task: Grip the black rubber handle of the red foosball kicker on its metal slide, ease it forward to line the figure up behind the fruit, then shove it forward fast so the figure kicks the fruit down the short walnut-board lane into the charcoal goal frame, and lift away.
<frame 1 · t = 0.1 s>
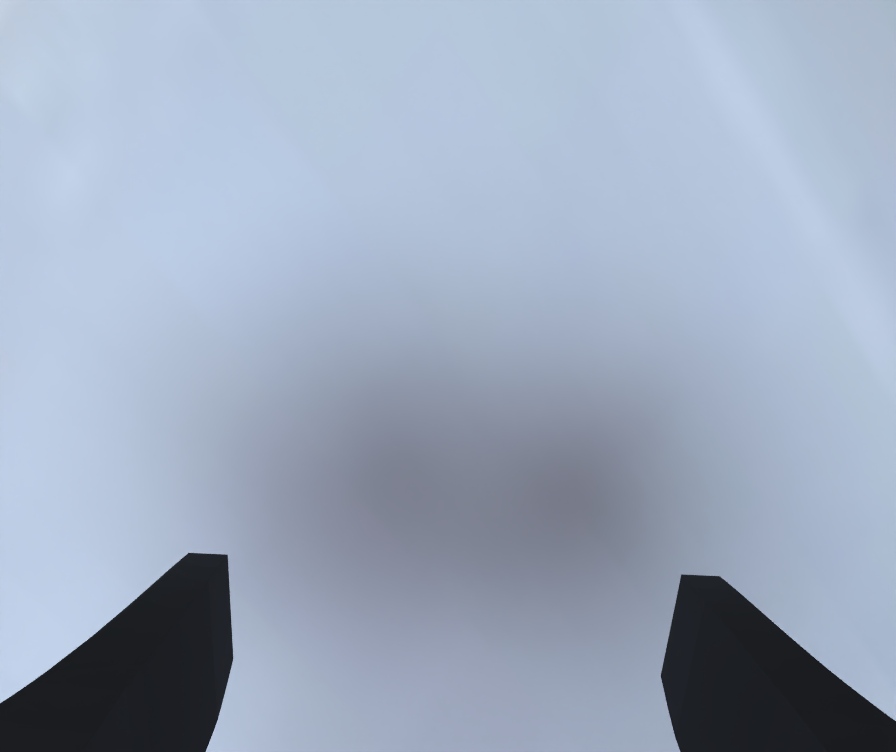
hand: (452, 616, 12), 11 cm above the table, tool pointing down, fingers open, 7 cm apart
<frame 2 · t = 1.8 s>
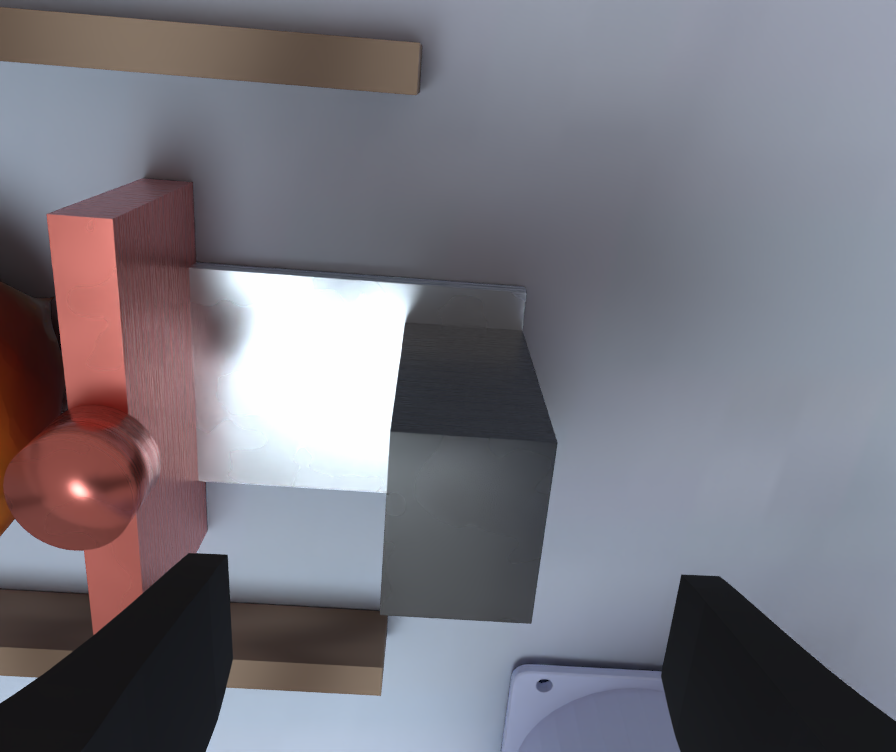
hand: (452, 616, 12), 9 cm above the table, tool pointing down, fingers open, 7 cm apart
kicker: (302, 437, 18), point 4 cm above the table, slide at 0.0 cm
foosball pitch: (64, 362, 21), on the table
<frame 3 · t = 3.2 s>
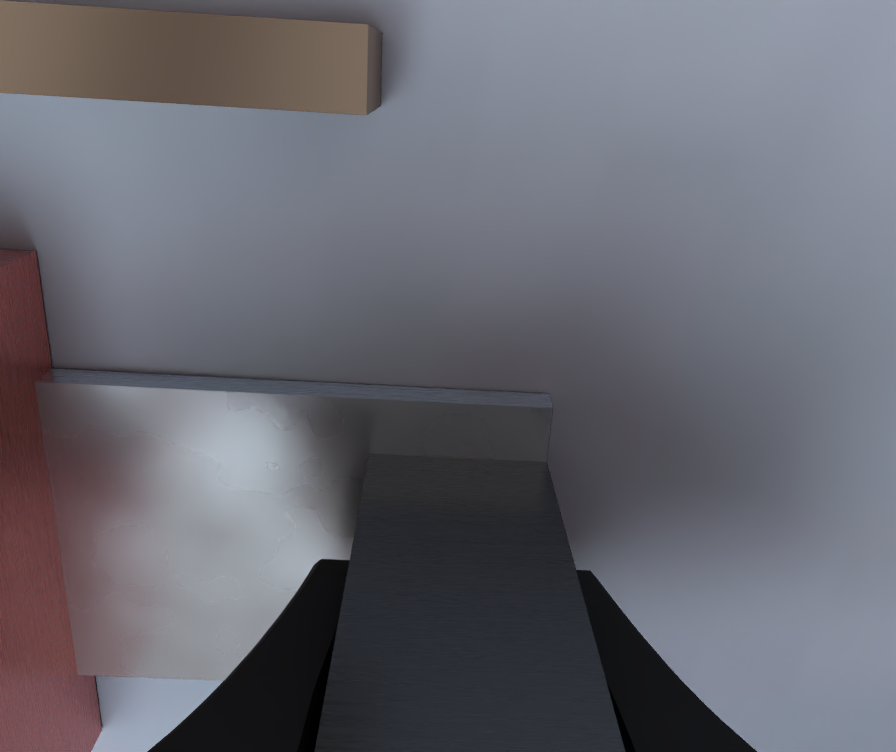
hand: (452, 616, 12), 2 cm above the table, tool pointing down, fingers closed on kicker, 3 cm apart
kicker: (200, 666, 11), point 3 cm above the table, slide at 0.0 cm, touching gripper
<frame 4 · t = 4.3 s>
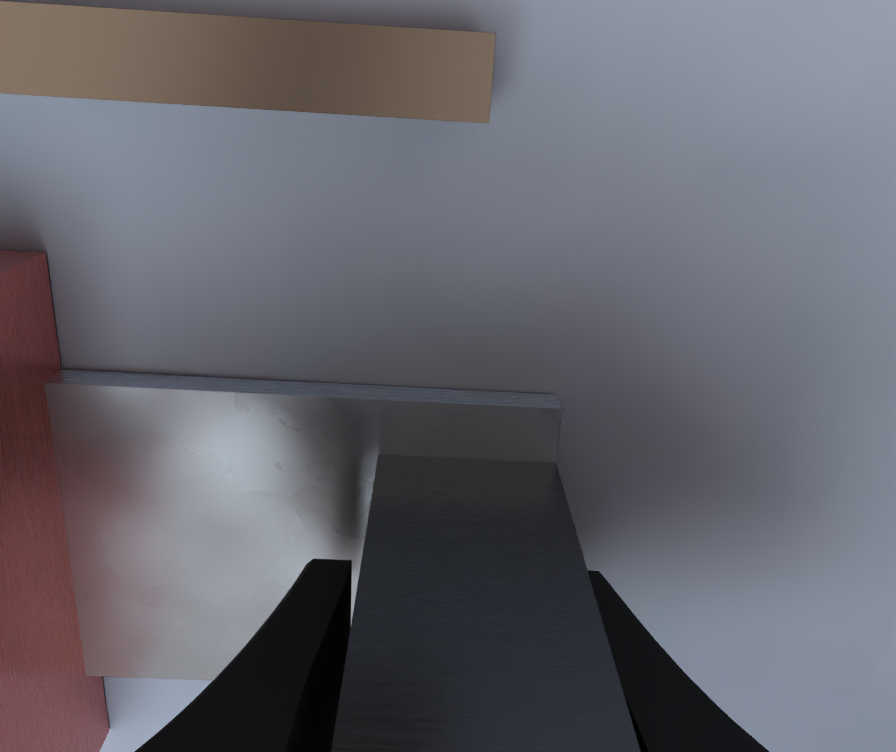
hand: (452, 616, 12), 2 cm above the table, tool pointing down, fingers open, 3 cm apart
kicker: (211, 667, 11), point 4 cm above the table, slide at 1.3 cm, touching fruit, gripper
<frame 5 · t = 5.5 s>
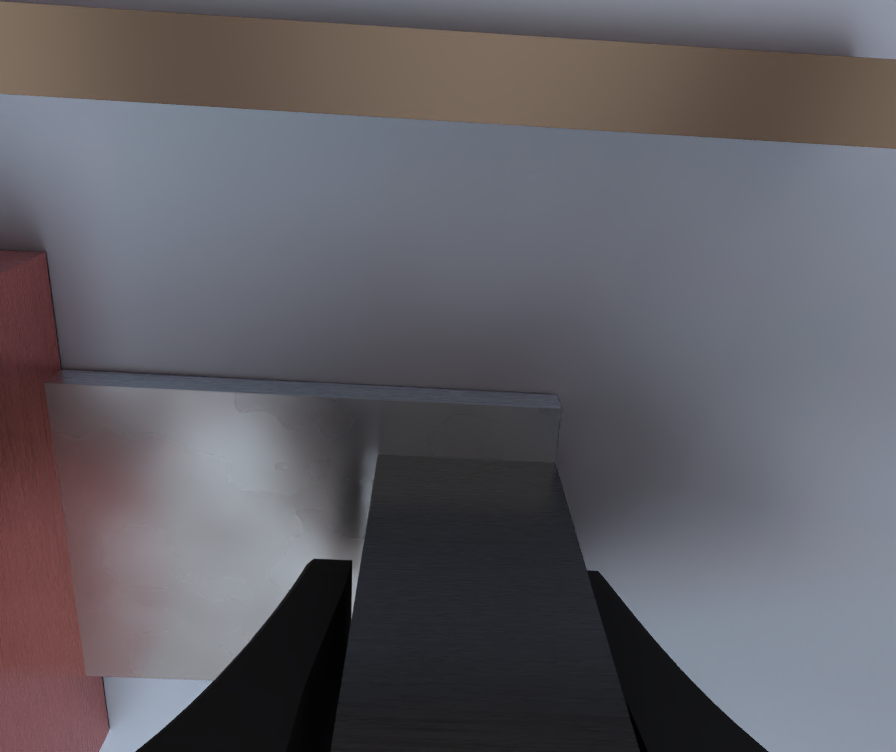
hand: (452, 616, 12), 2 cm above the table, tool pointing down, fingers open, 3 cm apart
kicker: (211, 667, 11), point 3 cm above the table, slide at 6.8 cm, touching fruit, gripper
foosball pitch: (259, 530, 14), on the table
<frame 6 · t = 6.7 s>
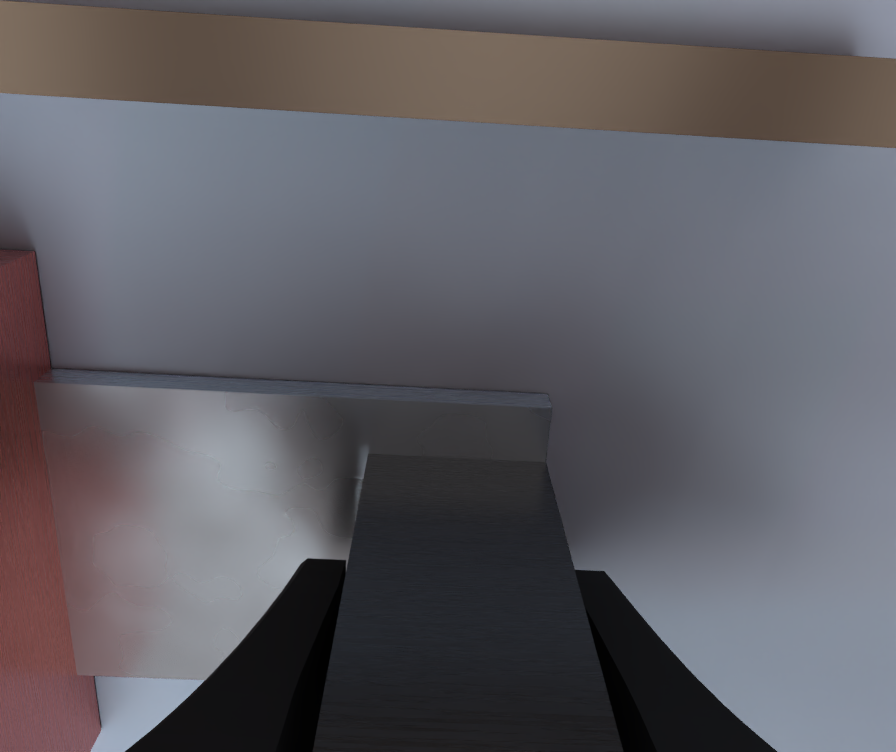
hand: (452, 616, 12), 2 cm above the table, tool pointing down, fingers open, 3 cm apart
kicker: (199, 666, 11), point 3 cm above the table, slide at 7.0 cm
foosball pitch: (260, 530, 14), on the table
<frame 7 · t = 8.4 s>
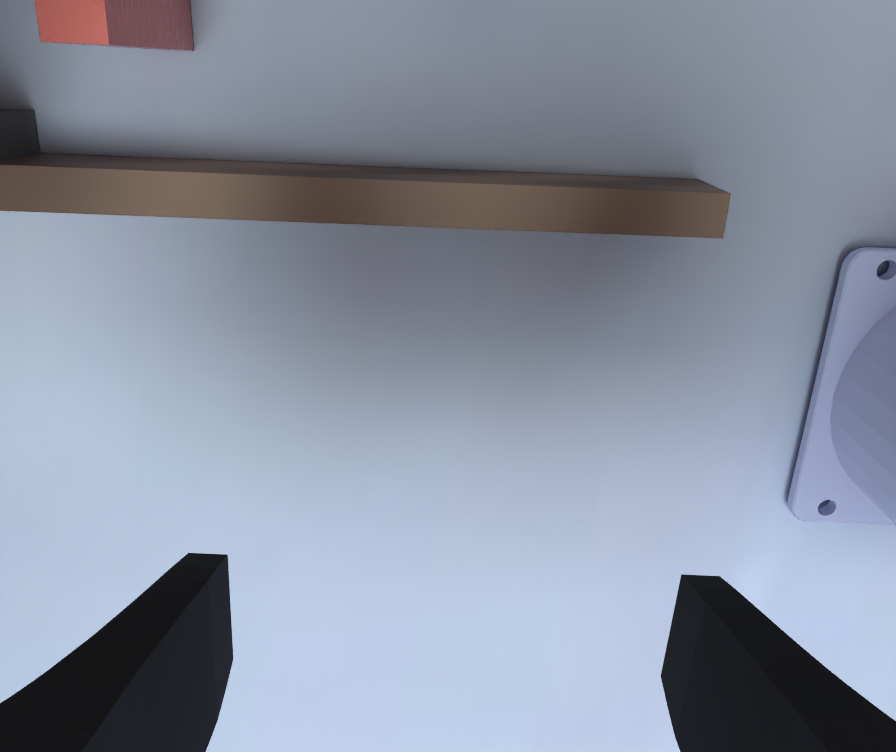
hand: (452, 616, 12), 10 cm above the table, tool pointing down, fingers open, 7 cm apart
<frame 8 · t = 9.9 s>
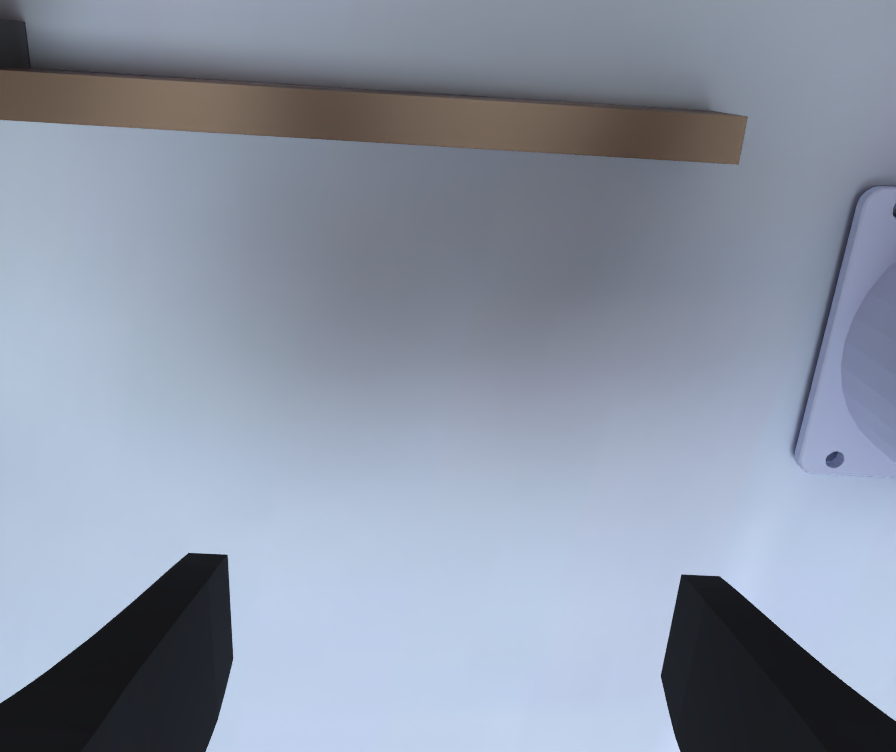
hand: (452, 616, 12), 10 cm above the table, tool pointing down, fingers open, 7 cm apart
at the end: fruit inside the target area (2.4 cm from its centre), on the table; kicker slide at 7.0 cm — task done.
